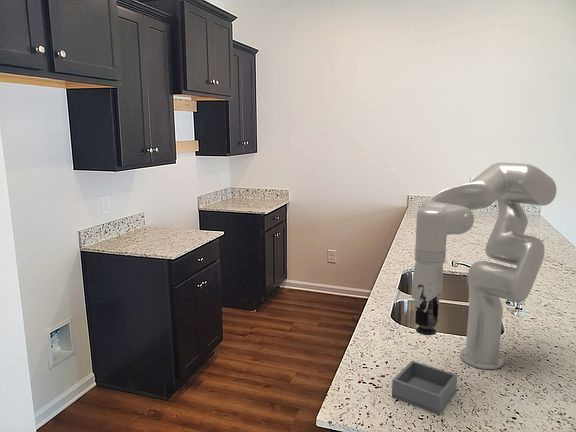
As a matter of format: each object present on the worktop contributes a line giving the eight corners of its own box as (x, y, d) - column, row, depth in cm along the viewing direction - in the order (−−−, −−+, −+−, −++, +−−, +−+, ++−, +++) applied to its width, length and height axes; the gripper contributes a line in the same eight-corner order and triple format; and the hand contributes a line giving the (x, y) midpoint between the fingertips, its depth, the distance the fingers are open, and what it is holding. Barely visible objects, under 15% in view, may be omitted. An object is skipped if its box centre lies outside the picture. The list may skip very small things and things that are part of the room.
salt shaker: (410, 331, 120) (412, 288, 118) (421, 324, 124) (423, 282, 122) (431, 338, 116) (433, 294, 114) (441, 330, 120) (443, 288, 118)
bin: (411, 376, 132) (412, 360, 131) (456, 391, 124) (457, 375, 123) (391, 396, 122) (392, 379, 121) (439, 414, 114) (440, 397, 113)
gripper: (429, 246, 125) (426, 307, 128) (401, 260, 112) (399, 328, 115) (456, 250, 120) (452, 313, 124) (431, 266, 107) (427, 336, 111)
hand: (426, 320), depth 120 cm, fingers closed on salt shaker, 5 cm apart
